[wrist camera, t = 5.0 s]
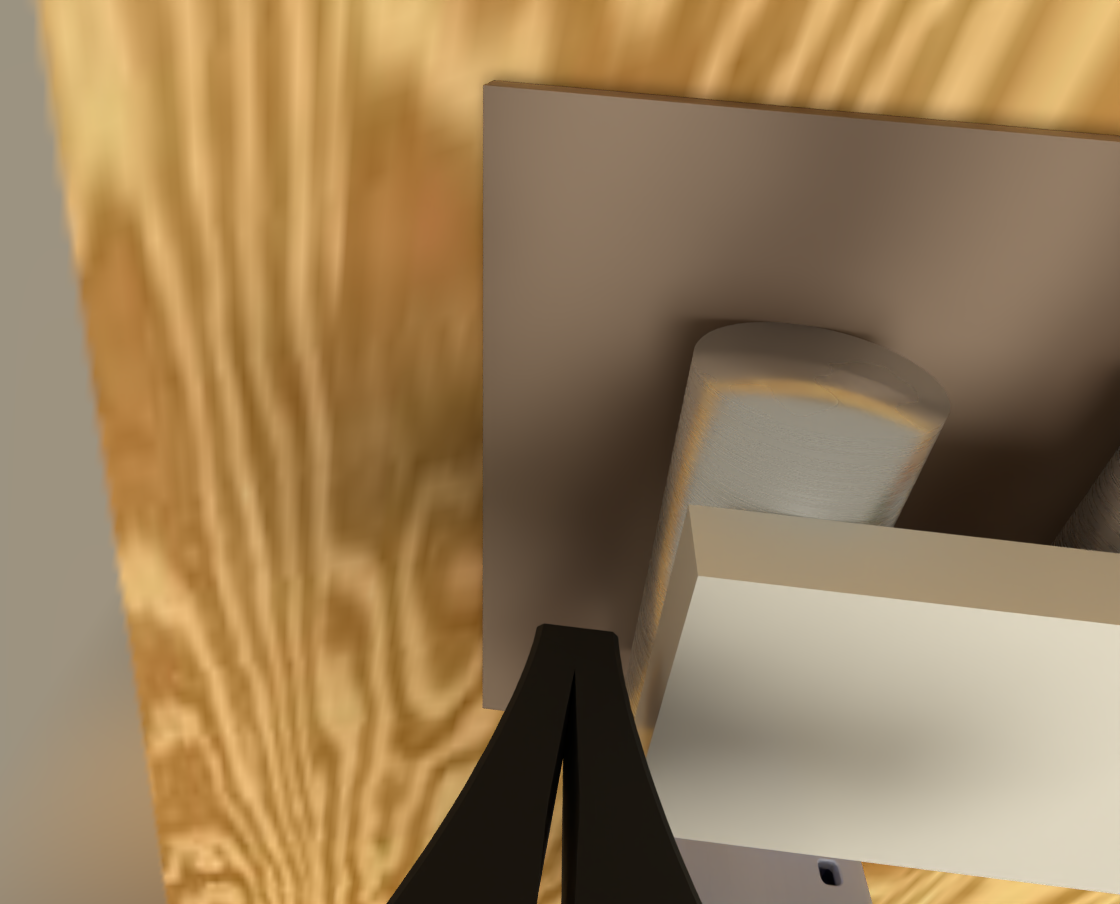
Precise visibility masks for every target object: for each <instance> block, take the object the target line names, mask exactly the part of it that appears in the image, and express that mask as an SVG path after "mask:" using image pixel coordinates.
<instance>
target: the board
mask: <svg viewBox="0 0 1120 904" xmlns="http://www.w3.org/2000/svg"><path fill="white" fill-rule="evenodd" d="M750 322H779V323H789V324H799V325H807V326H813V327H818V328H823V329H828V330H832V331H836V332H840V333H844V334H847V335H851V336H854V337H857V338H860V339H863V340H866V341H869V342H872V343H874V344H877V345H879V346H882V347H884V348H887V349H889V350H891V351H893V352H895V353H897V354H899V355H901V356H903V357H905V358H906V359H908V360H910V361H912V362H913V363H915V364H916V365H918V366H919V367H921V368H922V369H924V370H925V371H926V372H927V373H929V374H930V375H931V376H932V377H933V378H934V379H935V380H936V381H937V382H939V384H940V385H941V386H942V388H943V389H944V390H945V392H946V394H947V396H948V398H949V402H950V413H949V415H948V417H947V419H946V421H945V423H944V425H943V427H942V429H941V431H940V433H939V435H938V437H937V439H936V441H935V443H934V445H933V448H932V450H931V452H930V454H929V456H928V458H927V460H926V462H925V464H924V466H923V468H922V470H921V472H920V474H919V476H918V478H917V480H916V482H915V484H914V486H913V488H912V490H911V492H910V495H909V497H908V499H907V501H906V503H905V505H904V507H903V509H902V511H901V513H900V515H899V517H898V519H897V521H896V523H895V525H894V527H893V528H901V529H910V530H918V531H927V532H936V533H945V534H953V535H962V536H971V537H979V538H988V539H997V540H1006V541H1014V542H1023V543H1032V544H1040V545H1049V546H1051V544H1052V543H1053V541H1054V540H1055V538H1056V537H1057V536H1058V534H1059V533H1060V531H1061V530H1062V528H1063V527H1064V525H1065V524H1066V523H1067V521H1068V520H1069V518H1070V517H1071V515H1072V514H1073V513H1074V511H1075V510H1076V508H1077V507H1078V505H1079V504H1080V502H1081V501H1082V500H1083V498H1084V497H1085V495H1086V494H1087V492H1088V491H1089V490H1090V488H1091V487H1092V485H1093V484H1094V482H1095V481H1096V479H1097V478H1098V477H1099V475H1100V474H1101V472H1102V471H1103V469H1104V468H1105V467H1106V465H1107V464H1108V462H1109V461H1110V459H1111V458H1112V456H1113V455H1114V454H1115V452H1116V451H1117V449H1118V448H1119V446H1120V136H1113V135H1102V134H1091V133H1080V132H1068V131H1057V130H1046V129H1035V128H1023V127H1012V126H1001V125H990V124H978V123H967V122H956V121H945V120H934V119H922V118H911V117H900V116H889V115H877V114H866V113H855V112H844V111H832V110H821V109H810V108H799V107H788V106H776V105H765V104H754V103H743V102H731V101H720V100H709V99H698V98H687V97H675V96H664V95H653V94H642V93H630V92H619V91H608V90H597V89H585V88H574V87H563V86H552V85H541V84H529V83H518V82H507V81H496V80H494V81H492V82H489V83H487V84H485V85H483V708H486V709H494V710H502V711H505V709H506V707H507V705H508V703H509V701H510V699H511V697H512V695H513V693H514V691H515V688H516V686H517V683H518V681H519V679H520V676H521V674H522V672H523V669H524V667H525V664H526V661H527V659H528V656H529V653H530V650H531V647H532V644H533V641H534V637H535V633H536V628H537V627H538V626H540V625H541V624H543V623H545V624H553V625H562V626H570V627H578V628H586V629H595V630H603V631H611V632H614V633H615V634H616V635H617V636H618V639H619V650H620V657H621V663H622V669H623V674H624V679H625V678H626V673H627V669H628V664H629V659H630V654H631V649H632V645H633V640H634V635H635V630H636V625H637V621H638V616H639V611H640V606H641V601H642V597H643V592H644V587H645V582H646V577H647V573H648V568H649V563H650V558H651V553H652V549H653V544H654V539H655V534H656V529H657V525H658V520H659V515H660V510H661V505H662V501H663V496H664V491H665V486H666V481H667V477H668V472H669V467H670V462H671V457H672V453H673V448H674V443H675V438H676V433H677V429H678V424H679V419H680V414H681V409H682V405H683V400H684V395H685V390H686V385H687V381H688V376H689V371H690V366H691V361H692V357H693V352H694V347H695V345H696V344H697V342H698V341H699V340H700V339H701V338H702V337H703V336H704V335H706V334H707V333H709V332H711V331H713V330H716V329H718V328H721V327H725V326H729V325H734V324H740V323H750Z"/></svg>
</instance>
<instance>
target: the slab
mask: <svg viewBox="0 0 1120 904" xmlns="http://www.w3.org/2000/svg"><path fill="white" fill-rule="evenodd" d="M635 724H636V727H637V731H638V734H639V737H640V741H641V744H642V747H643V750H644V754H645V757H646V760H647V764H648V767H649V770H650V773H651V776H652V779H653V782H654V785H655V787H656V790H657V793H658V796H659V798H660V801H661V804H662V807H663V809H664V812H665V815H666V818H667V820H668V823H669V826H670V828H671V831H672V833H673V836H674V838H682V839H690V840H698V841H706V842H713V843H721V844H729V845H737V846H745V847H753V848H760V849H768V850H776V851H784V852H792V853H800V854H807V855H815V856H823V857H831V858H839V859H847V860H854V861H862V862H870V863H878V864H886V865H894V866H901V867H909V868H917V869H925V870H933V871H941V872H948V873H956V874H964V875H972V876H980V877H988V878H995V879H1003V880H1011V881H1019V882H1027V883H1035V884H1042V885H1050V886H1058V887H1066V888H1074V889H1082V890H1089V891H1097V892H1105V893H1113V894H1120V554H1119V553H1110V552H1101V551H1093V550H1084V549H1075V548H1067V547H1058V546H1049V545H1040V544H1032V543H1023V542H1014V541H1006V540H997V539H988V538H979V537H971V536H962V535H953V534H945V533H936V532H927V531H918V530H910V529H901V528H892V527H883V526H875V525H866V524H857V523H849V522H840V521H831V520H822V519H814V518H805V517H796V516H788V515H779V514H770V513H761V512H753V511H744V510H735V509H726V508H718V507H709V506H700V505H692V504H688V508H687V512H686V516H685V520H684V524H683V528H682V532H681V536H680V540H679V544H678V548H677V552H676V556H675V560H674V564H673V568H672V572H671V576H670V580H669V584H668V588H667V592H666V596H665V600H664V604H663V608H662V612H661V616H660V620H659V624H658V628H657V632H656V636H655V640H654V644H653V648H652V652H651V656H650V660H649V664H648V668H647V672H646V676H645V680H644V684H643V688H642V692H641V696H640V700H639V704H638V708H637V712H636V716H635Z"/></svg>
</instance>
